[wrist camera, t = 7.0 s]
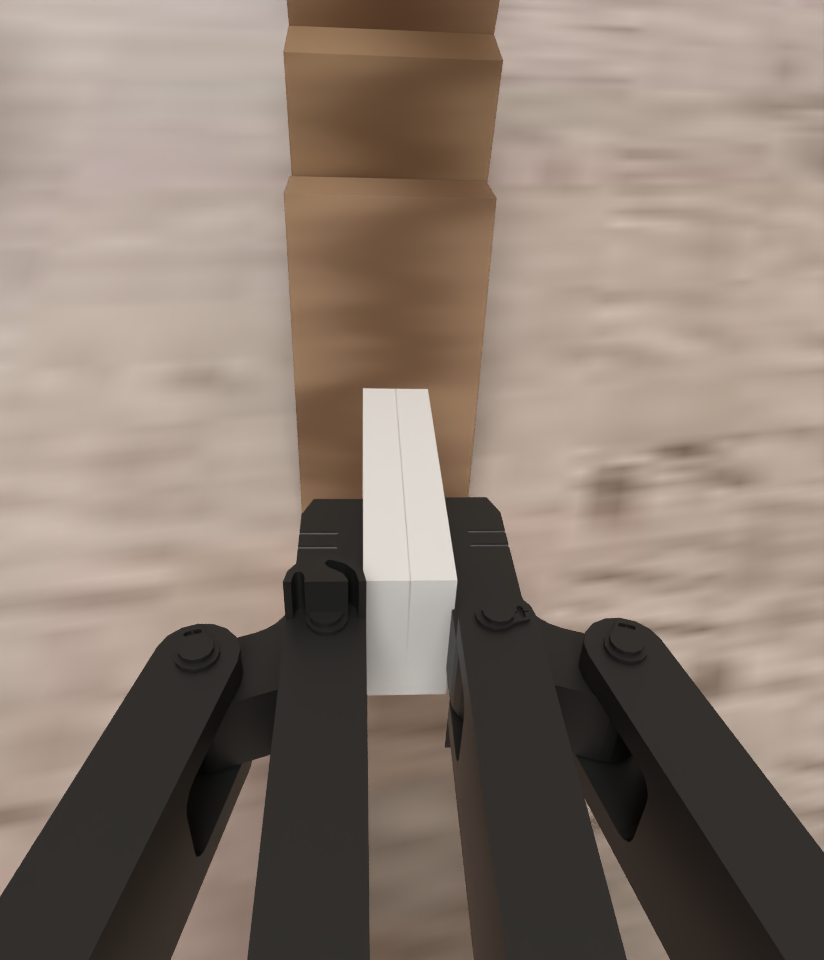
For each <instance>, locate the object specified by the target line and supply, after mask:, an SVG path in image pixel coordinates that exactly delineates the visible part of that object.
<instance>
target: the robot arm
mask: <svg viewBox="0 0 824 960" xmlns="http://www.w3.org/2000/svg"><path fill="white" fill-rule="evenodd" d="M283 590H284V603H285V616H284V617H283V618H282V619H281V620H279V621H278V622H277V623H276V624H274V625H272V626H271V627H269V628H267V629H265V630H262V631H259V632H257V633H253V634H250V635H246V636H242V637H238V638H237V637H236V636H235V635H233V634H232V633H231V632H230V631H229V630H228V629H226V628H223V627H220V626H217V625H215V624H195V625H192V626H188V627H184V628H181V629H179V630H177V631H175V632H174V633H172V634H170V635H168V636H167V637H166V638H165V639H164V640H163V641H162V642H161V643H160V644H159V646H158V647H157V648H156V650H155V651H154V653H153V654H152V656H151V658H150V659H149V661H148V662H147V664H146V666H145V667H144V669H143V670H142V672H141V673H140V675H139V677H138V678H137V680H136V681H135V683H134V685H133V686H132V688H131V689H130V691H129V693H128V694H127V696H126V697H125V699H124V701H123V702H122V704H121V705H120V707H119V709H118V710H117V712H116V713H115V715H114V716H113V718H112V720H111V721H110V723H109V724H108V726H107V728H106V729H105V731H104V732H103V734H102V736H101V737H100V739H99V740H98V742H97V744H96V745H95V747H94V748H93V750H92V751H91V753H90V755H89V756H88V758H87V759H86V761H85V763H84V764H83V766H82V767H81V769H80V771H79V772H78V774H77V775H76V777H75V779H74V780H73V782H72V783H71V785H70V787H69V788H68V790H67V791H66V793H65V794H64V796H63V798H62V799H61V801H60V802H59V804H58V806H57V807H56V809H55V810H54V812H53V814H52V815H51V817H50V818H49V820H48V822H47V823H46V825H45V826H44V828H43V829H42V831H41V833H40V834H39V836H38V837H37V839H36V841H35V842H34V844H33V845H32V847H31V849H30V850H29V852H28V853H27V855H26V857H25V858H24V860H23V861H22V863H21V865H20V866H19V868H18V869H17V871H16V872H15V874H14V876H13V877H12V879H11V880H10V882H9V884H8V885H7V887H6V888H5V890H4V892H3V893H2V895H1V896H0V960H171V957H172V955H173V952H174V950H175V948H176V945H177V943H178V940H179V938H180V936H181V933H182V931H183V928H184V926H185V924H186V921H187V919H188V916H189V914H190V912H191V909H192V907H193V904H194V902H195V899H196V897H197V895H198V892H199V890H200V887H201V885H202V883H203V880H204V878H205V875H206V873H207V871H208V868H209V866H210V863H211V861H212V859H213V856H214V854H215V851H216V849H217V847H218V844H219V842H220V839H221V837H222V834H223V832H224V830H225V827H226V825H227V822H228V820H229V818H230V815H231V813H232V810H233V808H234V806H235V803H236V801H237V798H238V796H239V794H240V791H241V789H242V786H243V784H244V781H245V779H246V777H247V774H248V772H249V769H250V767H251V763H252V760H255V759H258V758H261V757H264V756H267V755H270V754H271V755H270V764H269V772H268V781H267V790H266V799H265V808H264V817H263V826H262V835H261V843H260V852H259V861H258V870H257V879H256V888H255V897H254V906H253V915H252V923H251V932H250V941H249V950H248V959H247V960H370V944H369V846H368V747H367V695H424V694H446V689H447V680H448V689H449V697H450V703H449V712H448V722H447V731H446V741H445V747H451V754H452V763H453V772H454V781H455V790H456V800H457V809H458V818H459V827H460V836H461V845H462V854H463V863H464V872H465V882H466V891H467V900H468V909H469V918H470V927H471V936H472V945H473V954H474V960H627V959H626V955H625V951H624V947H623V943H622V940H621V936H620V932H619V928H618V924H617V921H616V917H615V913H614V909H613V905H612V902H611V898H610V894H609V890H608V886H607V883H606V879H605V875H604V871H603V867H602V864H601V860H600V856H599V852H598V848H597V845H596V841H595V837H594V833H593V829H592V826H591V822H590V818H589V814H588V810H587V807H586V803H585V800H586V802H587V804H588V805H589V807H590V809H591V811H592V813H593V815H594V817H595V819H596V821H597V822H598V824H599V826H600V828H601V830H602V832H603V834H604V836H605V838H606V839H607V841H608V843H609V845H610V847H611V849H612V851H613V853H614V854H615V856H616V858H617V860H618V862H619V864H620V866H621V868H622V870H623V871H624V873H625V875H626V877H627V879H628V881H629V883H630V885H631V887H632V888H633V890H634V892H635V894H636V896H637V898H638V900H639V902H640V903H641V905H642V907H643V909H644V911H645V913H646V915H647V917H648V919H649V920H650V922H651V924H652V926H653V928H654V930H655V932H656V934H657V936H658V937H659V939H660V941H661V943H662V945H663V947H664V949H665V951H666V952H667V954H668V956H669V958H670V960H824V852H823V851H822V849H821V848H820V847H819V846H818V844H817V843H816V842H815V840H814V839H813V838H812V836H811V835H810V834H809V832H808V831H807V830H806V829H805V827H804V826H803V825H802V823H801V822H800V821H799V819H798V818H797V817H796V815H795V814H794V813H793V812H792V810H791V809H790V808H789V806H788V805H787V804H786V802H785V801H784V800H783V798H782V797H781V796H780V795H779V793H778V792H777V791H776V789H775V788H774V787H773V785H772V784H771V783H770V781H769V780H768V779H767V778H766V776H765V775H764V774H763V772H762V771H761V770H760V768H759V767H758V766H757V764H756V763H755V762H754V761H753V759H752V758H751V757H750V755H749V754H748V753H747V751H746V750H745V749H744V747H743V746H742V745H741V744H740V742H739V741H738V740H737V738H736V737H735V736H734V734H733V733H732V732H731V730H730V729H729V728H728V727H727V725H726V724H725V723H724V721H723V720H722V719H721V717H720V716H719V715H718V713H717V712H716V711H715V710H714V708H713V707H712V706H711V704H710V703H709V702H708V700H707V699H706V698H705V696H704V695H703V694H702V693H701V691H700V690H699V689H698V687H697V686H696V685H695V683H694V682H693V681H692V679H691V678H690V677H689V676H688V674H687V673H686V672H685V670H684V669H683V668H682V666H681V665H680V664H679V662H678V661H677V660H676V659H675V657H674V656H673V655H672V653H671V652H670V651H669V649H668V648H667V647H666V645H665V644H664V643H663V642H662V640H661V639H660V638H659V637H658V636H657V635H656V634H655V633H654V632H653V631H651V630H650V629H649V628H647V627H645V626H643V625H641V624H639V623H637V622H635V621H631V620H627V619H622V618H606V619H603V620H600V621H598V622H595V623H593V624H592V625H591V626H590V627H589V629H588V630H587V631H586V632H585V633H580V632H576V631H572V630H568V629H564V628H560V627H557V626H554V625H551V624H549V623H547V622H545V621H543V620H541V619H540V618H538V617H537V616H536V615H535V613H534V611H533V609H532V607H531V606H530V605H529V604H528V603H526V602H525V601H524V600H523V598H522V596H521V592H520V588H519V584H518V580H517V576H516V572H515V568H514V564H513V560H512V556H511V553H510V549H509V547H508V541H507V537H506V533H505V529H504V525H503V521H502V517H501V513H500V512H499V510H498V509H497V508H496V507H495V506H494V505H493V504H492V503H491V502H490V501H489V500H488V498H487V497H444V491H443V484H442V478H441V471H440V465H439V458H438V452H437V445H436V439H435V432H434V426H433V419H432V413H431V407H430V400H429V394H428V389H374V388H363V477H362V499H313V500H312V502H311V503H310V504H309V506H308V507H307V508H306V509H305V511H304V512H303V513H302V516H301V525H300V535H299V544H298V553H297V562H296V564H295V565H294V566H293V567H292V568H291V569H289V570H288V571H287V573H286V576H285V578H284V581H283ZM584 798H585V799H584Z"/></svg>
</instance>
